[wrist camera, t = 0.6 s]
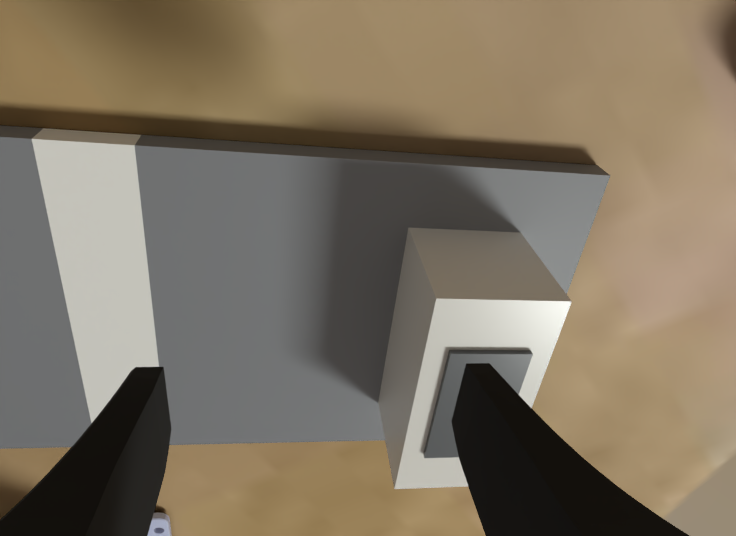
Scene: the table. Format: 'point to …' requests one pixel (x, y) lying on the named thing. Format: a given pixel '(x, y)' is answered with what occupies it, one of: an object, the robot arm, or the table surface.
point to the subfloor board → (234, 274)
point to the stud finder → (461, 340)
